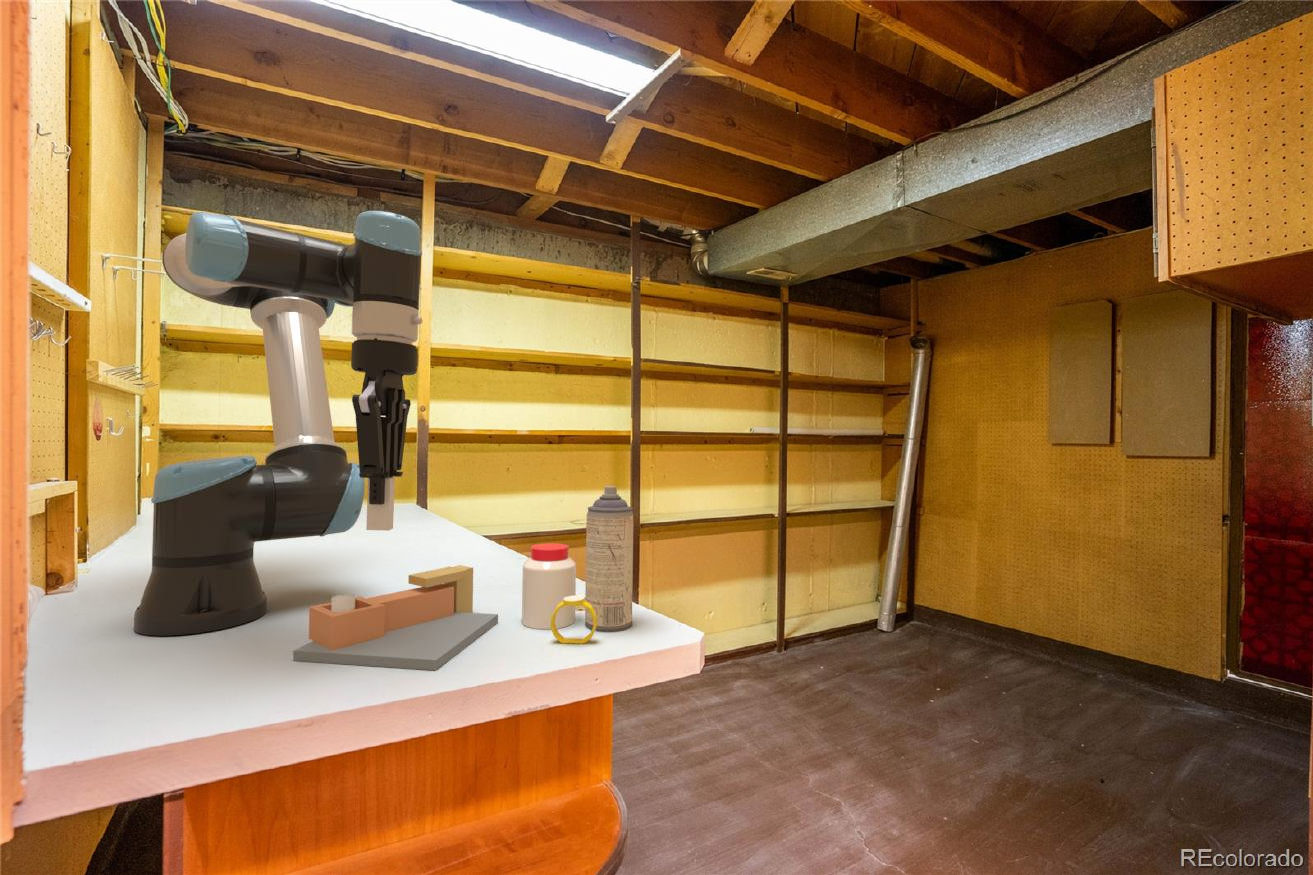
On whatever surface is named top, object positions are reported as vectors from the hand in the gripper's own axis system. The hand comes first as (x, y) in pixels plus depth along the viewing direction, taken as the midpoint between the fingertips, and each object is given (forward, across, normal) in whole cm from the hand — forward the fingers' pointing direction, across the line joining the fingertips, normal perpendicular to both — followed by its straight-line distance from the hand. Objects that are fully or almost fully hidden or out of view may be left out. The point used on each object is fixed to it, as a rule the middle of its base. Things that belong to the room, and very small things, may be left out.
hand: (379, 529), depth 74 cm
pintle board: (+15, +5, -3) cm, 16 cm away
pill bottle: (+15, +10, -21) cm, 28 cm away
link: (+14, +5, 0) cm, 15 cm away
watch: (+15, +1, -25) cm, 29 cm away
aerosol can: (+15, +9, -29) cm, 34 cm away
